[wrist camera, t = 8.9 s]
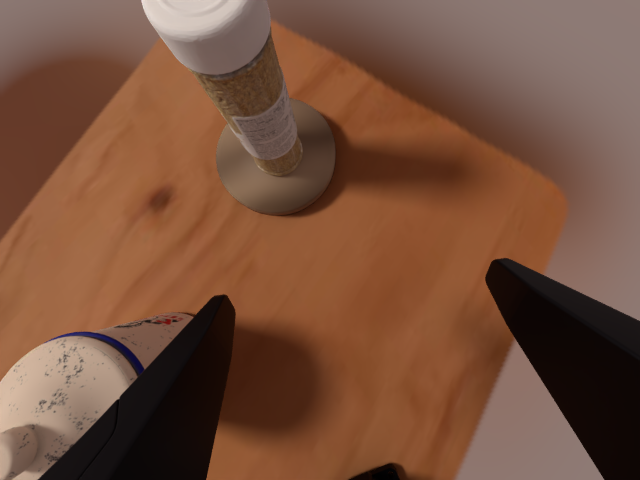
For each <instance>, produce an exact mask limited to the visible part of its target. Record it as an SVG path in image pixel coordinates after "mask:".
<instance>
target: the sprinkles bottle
mask: <svg viewBox="0 0 640 480" xmlns="http://www.w3.org/2000/svg"><path fill="white" fill-rule="evenodd" d="M141 1H142V5H143V9H144V11H145V14H146V15H147V18H148V19H149V21H150V22H151V24H152V25H153V27H154V28H155V30H156V31H157V32H158V34H159V35H160V37H161V38H162V39H163V41H164V42H165V44H166V45H167V46H168V48H169V49H170V50H171V52H172V53H173V54H174V56H175V57H176V58H177V59H178V60H179V61H180V62H181V63H182V64H183V65H185V66H186V67H187V68H188V69H189V70H190V72H192V73H193V74H194V76H195V78H196V79H197V80H198V82H199V83H200V85H201V86H202V87H203V89H204V90H205V92H206V93H207V94H208V96H209V97H210V99H211V100H212V101H213V103H214V104H215V106H216V107H217V108H218V110H219V111H220V113H221V114H222V116H223V117H224V118H225V120H226V121H227V123H228V125H229V126H230V128H231V130H232V131H233V132H234V134H235V135H236V137H237V138H238V139H239V141H240V142H241V143H242V145H243V146H244V148H245V149H246V150H247V151H248V152H249V153H250V154H251V156H252V157H253V158H254V160H255V163H256V165H257V166H258V167H259V169H260V170H262V171H263V172H265V173H266V174H269V175H273V176H283V175H286V174H288V173H290V172H292V171H293V170H295V169H296V168H297V167H298V165H299V164H300V162H301V159H302V155H303V148H302V143H301V141H300V139H299V137H298V134H297V127H296V122H295V118H294V115H293V111H292V107H291V103H290V99H289V96H288V92H287V88H286V84H285V80H284V76H283V72H282V69H281V67H280V65H279V62H278V58H277V55H276V51H275V47H274V43H273V39H272V36H271V26H270V22H271V20H270V12H269V8H268V4H267V0H141Z"/></svg>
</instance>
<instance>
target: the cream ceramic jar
mask: <svg viewBox="0 0 640 480" xmlns="http://www.w3.org/2000/svg"><path fill="white" fill-rule="evenodd" d="M192 318H193V317H192V316H190V315H187V314H183V313H165V314H160V315H156V316H153V317H149V318H145V319H141V320H137V321H133V322H129V323H125V324H121V325H117V326H113V327H109V328H105V329H101V330H97V331H93V332H74V333H69V334H65V335H61V336H58V337H56V338H53V339H51V340H49V341H47V342H45V343H43V344H42V345H40V346H38V347H36V348H35V349H33V350H32V351H30V352H29V353H28V354H26V355H25V356H24V357H23V358H21V359H20V360H19V361H18V362H17V363H16V364H15V365H14V366H13V367H12V368H11V369H10V370H9V371H8V373H7V374H6V375H5V377H4V378H3V379H2V381H1V382H0V480H38V479H39V478H40V477H41V476H42V475H43V474H44V473H45V472H46V471H47V470H48V469H49V468H50V467H51V466H52V465H53V464H54V463H55V462H56V461H57V460H58V459H59V458H60V457H61V456H62V455H63V454H64V453H65V452H66V451H67V450H68V449H69V448H70V447H71V446H72V445H73V444H74V443H75V442H76V441H77V440H78V439H80V438H81V437H82V436H83V434H84V433H85V432H86V431H87V430H88V429H89V428H90V427H91V426H92V425H93V424H94V423H95V422H96V421H97V420H98V419H99V418H100V417H101V416H102V415H103V414H104V413H105V412H106V410H107V409H108V408H109V407H110V406H111V405H112V404H113V403H114V402H115V401H116V400H117V399H119V397H120V396H121V395H122V393H123V392H124V391H125V390H126V389H127V388H128V387H129V386H130V385H131V384H132V383H133V382H134V381H135V380H136V378H137V377H138V376H139V375H140V374H141V373H142V372H143V371H144V370H145V369H146V368H147V367H148V366H149V365H150V363H151V362H152V361H153V360H154V359H155V358H156V357H157V356H158V355H159V354H160V353H161V352H162V351H163V350H164V348H165V347H166V346H167V345H168V344H169V343H170V342H171V341H172V340H173V339H174V338H175V337H176V336H177V335H178V333H179V332H180V331H181V330H182V329H183V328H184V327H185V326H186V325H187V324H188V323H189V322H190V321H191V320H192Z"/></svg>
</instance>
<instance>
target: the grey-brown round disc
mask: <svg viewBox="0 0 640 480" xmlns="http://www.w3.org/2000/svg"><path fill="white" fill-rule="evenodd" d="M289 99H290V103H291V107H292V111H293V115H294V118H295V122H296V127H297V134H298V137H299V139H300V141H301V143H302V148H303V155H302V159H301V162H300V164H299V165H298V167H297V168H296V169H295V170H293V171H292V172H290V173H288V174H286V175H283V176H273V175H269V174H266V173H265V172H263V171H262V170H260V169H259V167H258V166H257V165H256V163H255V160H254V158H253V157H252V156H251V154H250V153H249V152H248V151H247V150H246V149H245V148H244V146H243V145H242V143H241V142H240V141H239V139H238V138H237V137H236V135H235V134H234V132H233V131H232V130H231V128H230V126H229V125H228V123H227V125H226V126H225V128H224V130H223V131H222V133H221V136H220V138H219V141H218V145H217V151H216V164H217V170H218V173H219V176H220V179H221V181H222V183H223V185H224V186H225V188H226V189H227V190H228V192H229V193H230V194H231V195H232V196H233V197H234V198H235V199H236V200H238V201H239V202H241V203H242V204H243V205H245V206H246V207H248V208H249V209H251V210H253V211H256V212H258V213H262V214H266V215H275V216H279V215H288V214H292V213H295V212H298V211H301V210H303V209H305V208H307V207H308V206H310V205H311V204H313V203H314V202H315V201H316V200H317V199H318V198H319V197H320V196H321V195H322V194H323V193H324V191H325V190H326V189H327V187H328V185H329V183H330V181H331V179H332V176H333V173H334V169H335V158H336V150H335V141H334V137H333V134H332V131H331V129H330V127H329V125H328V123H327V122H326V120H325V119H324V118H323V116H322V115H321V114H320V113H319V112H318V111H316V110H315V109H314V108H313V107H311V106H309V105H308V104H306V103H304V102H301V101H299V100H296V99H292V98H289Z"/></svg>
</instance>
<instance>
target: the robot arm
mask: <svg viewBox="0 0 640 480" xmlns="http://www.w3.org/2000/svg"><path fill="white" fill-rule="evenodd" d="M485 280H486V284H487V286H488V288H489V290H490V292H491V294H492V296H493V298H494V300H495V302H496V304H497V306H498V308H499V310H500V312H501V314H502V316H503V318H504V320H505V322H506V324H507V326H508V327H509V329H510V331H511V332H512V334H513V336H514V337H515V339H516V340H517V342H518V344H519V345H520V347H521V348H522V350H523V351H524V353H525V355H526V356H527V358H528V359H529V361H530V363H531V364H532V365H533V367H534V369H535V370H536V372H537V374H538V375H539V377H540V378H541V380H542V382H543V383H544V385H545V386H546V388H547V389H548V391H549V393H550V394H551V396H552V397H553V399H554V401H555V402H556V404H557V405H558V407H559V409H560V410H561V412H562V413H563V415H564V416H565V418H566V419H567V421H568V423H569V424H570V426H571V427H572V429H573V431H574V432H575V433H576V435H577V437H578V439H579V440H580V442H581V443H582V445H583V447H584V448H585V450H586V451H587V453H588V454H589V456H590V457H591V459H592V461H593V462H594V464H595V465H596V467H597V468H598V470H599V472H600V473H601V475H602V477H603V478H604V480H640V321H639V320H637V319H634V318H632V317H630V316H628V315H626V314H624V313H622V312H620V311H618V310H615V309H613V308H611V307H609V306H607V305H605V304H603V303H601V302H599V301H597V300H594V299H592V298H590V297H588V296H586V295H584V294H582V293H580V292H578V291H576V290H573V289H571V288H569V287H567V286H565V285H563V284H561V283H559V282H557V281H554V280H553V279H550V278H548V277H546V276H544V275H542V274H540V273H538V272H536V271H534V270H532V269H529V268H527V267H525V266H523V265H521V264H519V263H517V262H515V261H513V260H511V259H508V258H502V259H495V260H493V261H492V262H491V264H490V267H489V269H488V271H487V274H486V277H485ZM235 315H236V314H235V309H234V307H233V305H232V303H231V301H230V300H229V298H228V296H227V295H216V296H214V297H212V298H211V299H210V300H209V301H208V302H207V303H206V305H205V306H204V307H203V308H202V309H201V310H200V311H199V312H198V313H197V314H196V315H195V316H194V317H193V318H192V320H191V321H190V322H189V323H188V324H187V325H186V326H185V327H184V328H183V329H182V330H181V331H180V332H179V333H178V335H177V336H176V337H175V338H174V339H173V340H172V341H171V342H170V343H169V344H168V345H167V346H166V347H165V348H164V350H163V351H162V352H161V353H160V354H159V355H158V356H157V357H156V358H155V359H154V360H153V361H152V362H151V363H150V365H149V366H148V367H147V368H146V369H145V370H144V371H143V372H142V373H141V374H140V375H139V376H138V377H137V378H136V380H135V381H134V382H133V383H132V384H131V385H130V386H129V387H128V388H127V389H126V390H125V391H124V392H123V393H122V395H121V396H120V397H119V399H117V400H116V401H115V402H114V403H113V404H112V405H111V406H110V407H109V408H108V409H107V410H106V412H105V413H104V414H103V415H102V416H101V417H100V418H99V419H98V420H97V421H96V422H95V423H94V424H93V425H92V426H91V427H90V428H89V429H88V430H87V431H86V432H85V433H84V434H83V436H82V437H81V438H80V439H78V440H77V441H76V442H75V443H74V444H73V445H72V446H71V447H70V448H69V449H68V450H67V451H66V452H65V453H64V454H63V455H62V456H61V457H60V458H59V459H58V460H57V461H56V462H55V463H54V464H53V465H52V466H51V467H50V468H49V469H48V470H47V471H46V472H45V473H44V474H43V475H42V476H41V477H40V478H39V479H38V480H206V478H207V473H208V468H209V463H210V459H211V454H212V449H213V444H214V439H215V434H216V430H217V425H218V420H219V415H220V410H221V406H222V401H223V396H224V391H225V386H226V381H227V377H228V372H229V367H230V362H231V356H232V347H233V336H234V326H235ZM390 471H391V472H393V473H392V474H388V472H390ZM349 480H400V478H399V476H398V473H397V471H396V468H395V467H394V466H393V465H392V464H387V465H384V466H382V467H380V468H377V469H375V470H372V471H370V472H366V473H364V474H361V475H359V476H356V477H354V478H351V479H349Z"/></svg>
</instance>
